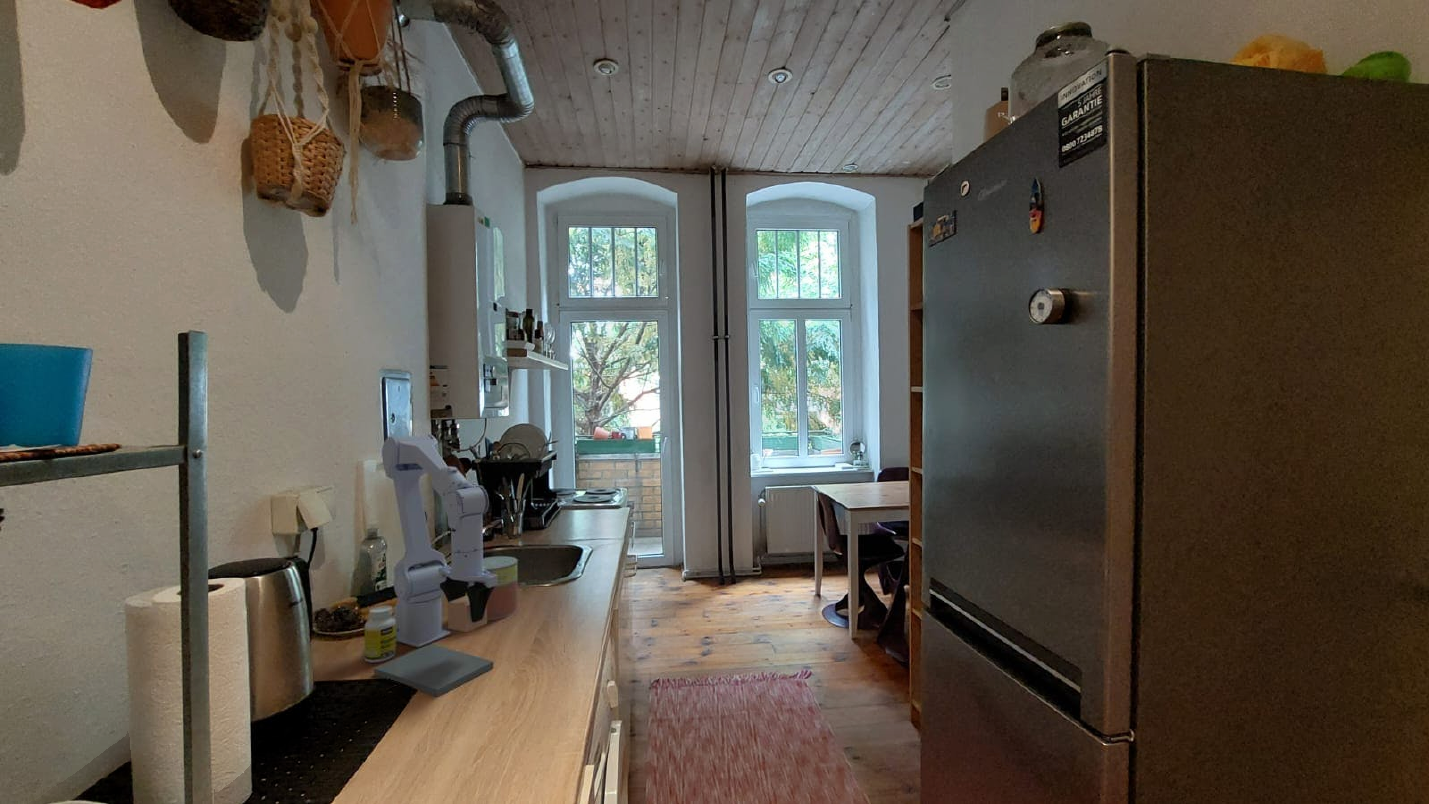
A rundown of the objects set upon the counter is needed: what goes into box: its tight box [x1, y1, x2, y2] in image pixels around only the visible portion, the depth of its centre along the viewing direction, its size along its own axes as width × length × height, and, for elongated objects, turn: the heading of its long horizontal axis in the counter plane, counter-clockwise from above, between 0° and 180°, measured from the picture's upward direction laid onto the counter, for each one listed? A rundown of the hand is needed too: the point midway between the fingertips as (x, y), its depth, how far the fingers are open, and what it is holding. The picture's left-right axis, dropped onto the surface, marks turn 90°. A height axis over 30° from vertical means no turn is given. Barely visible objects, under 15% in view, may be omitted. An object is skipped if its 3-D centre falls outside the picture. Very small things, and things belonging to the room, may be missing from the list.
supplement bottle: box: [364, 604, 397, 664], centre depth 114 cm, size 5×5×10 cm
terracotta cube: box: [447, 595, 488, 633], centre depth 112 cm, size 5×5×5 cm
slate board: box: [373, 643, 494, 697], centre depth 108 cm, size 18×12×1 cm, turn 62°
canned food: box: [468, 555, 519, 621], centre depth 139 cm, size 11×11×12 cm
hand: (467, 618), depth 112 cm, fingers closed on terracotta cube, 5 cm apart
